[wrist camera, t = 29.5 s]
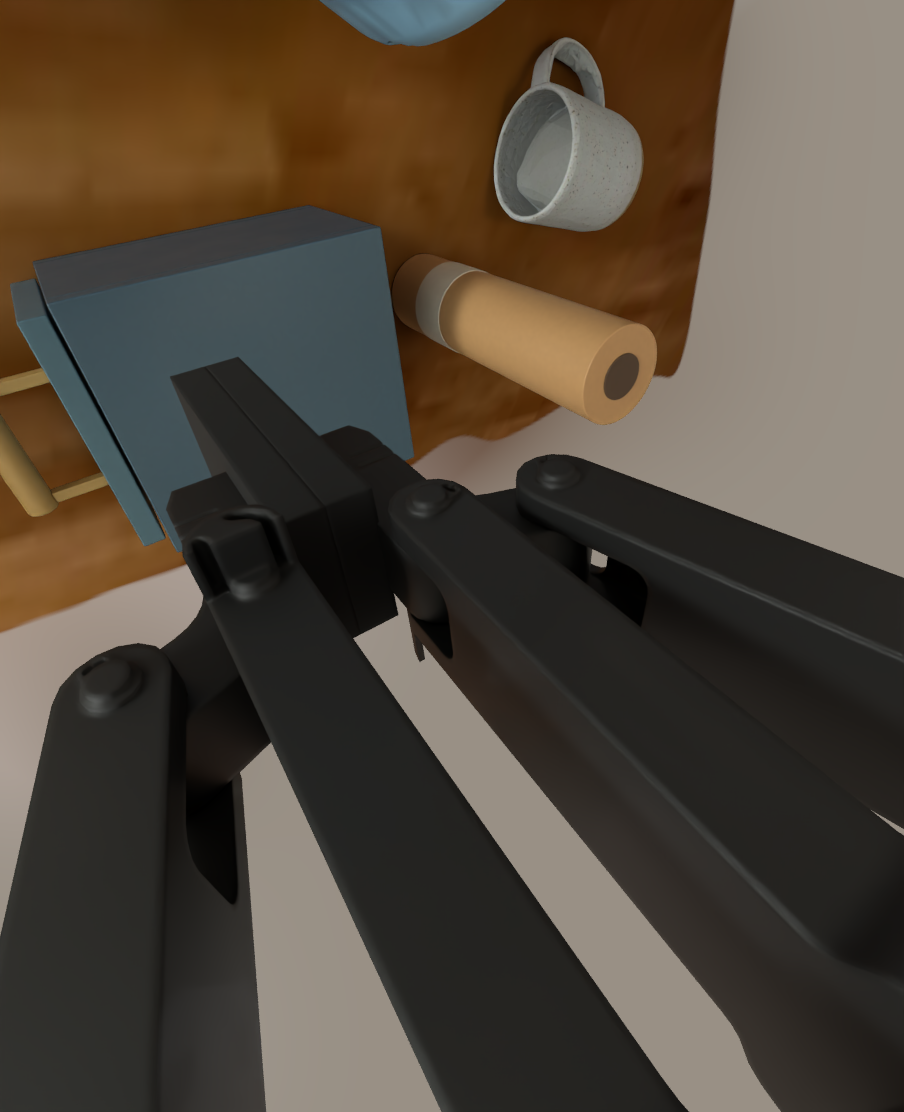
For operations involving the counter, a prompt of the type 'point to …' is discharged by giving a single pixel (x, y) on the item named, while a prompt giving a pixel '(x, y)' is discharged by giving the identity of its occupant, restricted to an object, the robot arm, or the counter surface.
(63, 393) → the drawer
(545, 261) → the counter surface
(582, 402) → the paper roll
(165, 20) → the counter surface
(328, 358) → the cabinet
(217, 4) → the counter surface
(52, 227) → the counter surface
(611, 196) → the ceramic mug
